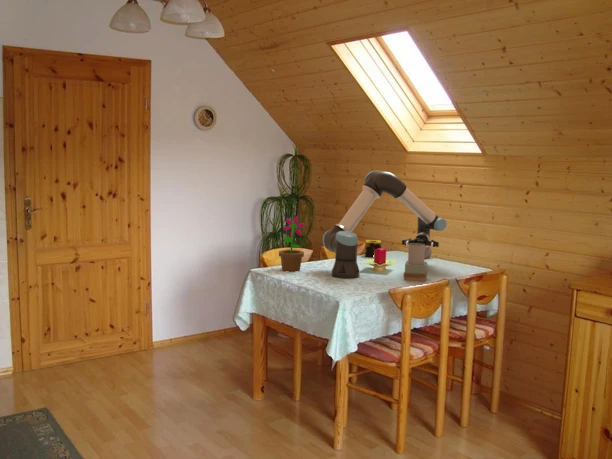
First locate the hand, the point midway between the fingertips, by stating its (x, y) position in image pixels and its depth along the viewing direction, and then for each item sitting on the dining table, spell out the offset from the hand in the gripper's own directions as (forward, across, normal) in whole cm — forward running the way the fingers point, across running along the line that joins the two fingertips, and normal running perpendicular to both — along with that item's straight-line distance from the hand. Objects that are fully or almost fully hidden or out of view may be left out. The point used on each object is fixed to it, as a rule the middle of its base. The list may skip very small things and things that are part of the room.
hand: (419, 245), depth 346 cm
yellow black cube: (-49, +32, -17) cm, 61 cm away
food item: (-55, +2, -17) cm, 57 cm away
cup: (+9, 0, -8) cm, 12 cm away
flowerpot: (+11, +69, -17) cm, 72 cm away
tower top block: (+9, 0, -12) cm, 16 cm away
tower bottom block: (+9, 0, -17) cm, 19 cm away
